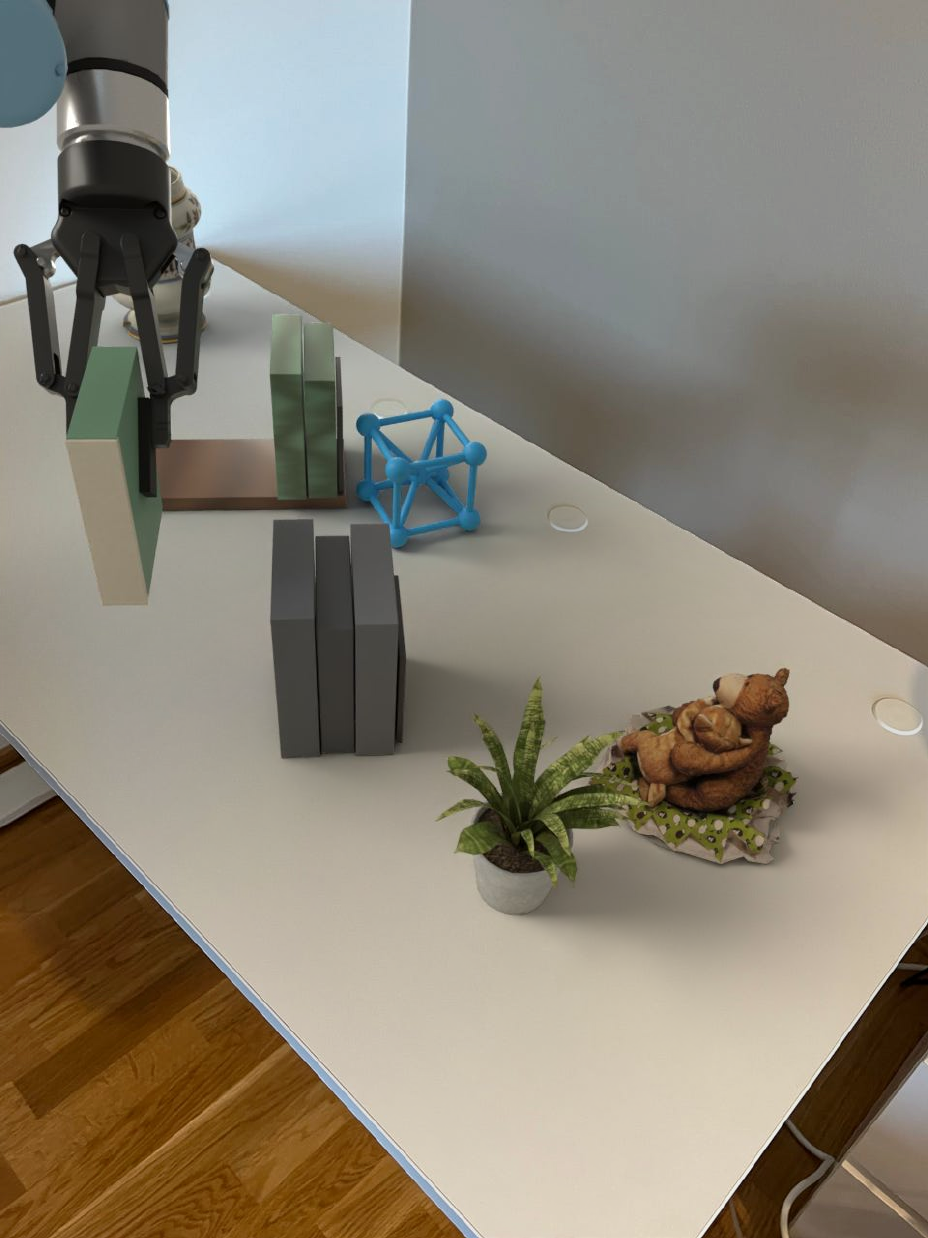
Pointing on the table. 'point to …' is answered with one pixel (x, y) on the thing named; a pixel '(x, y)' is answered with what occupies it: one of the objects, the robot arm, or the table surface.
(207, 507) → the book shelf
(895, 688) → the table surface
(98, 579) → the green book
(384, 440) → the molecular structure
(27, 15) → the robot arm
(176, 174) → the apothecary jar
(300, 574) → the grey books
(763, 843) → the bear figurine
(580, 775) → the house plant
